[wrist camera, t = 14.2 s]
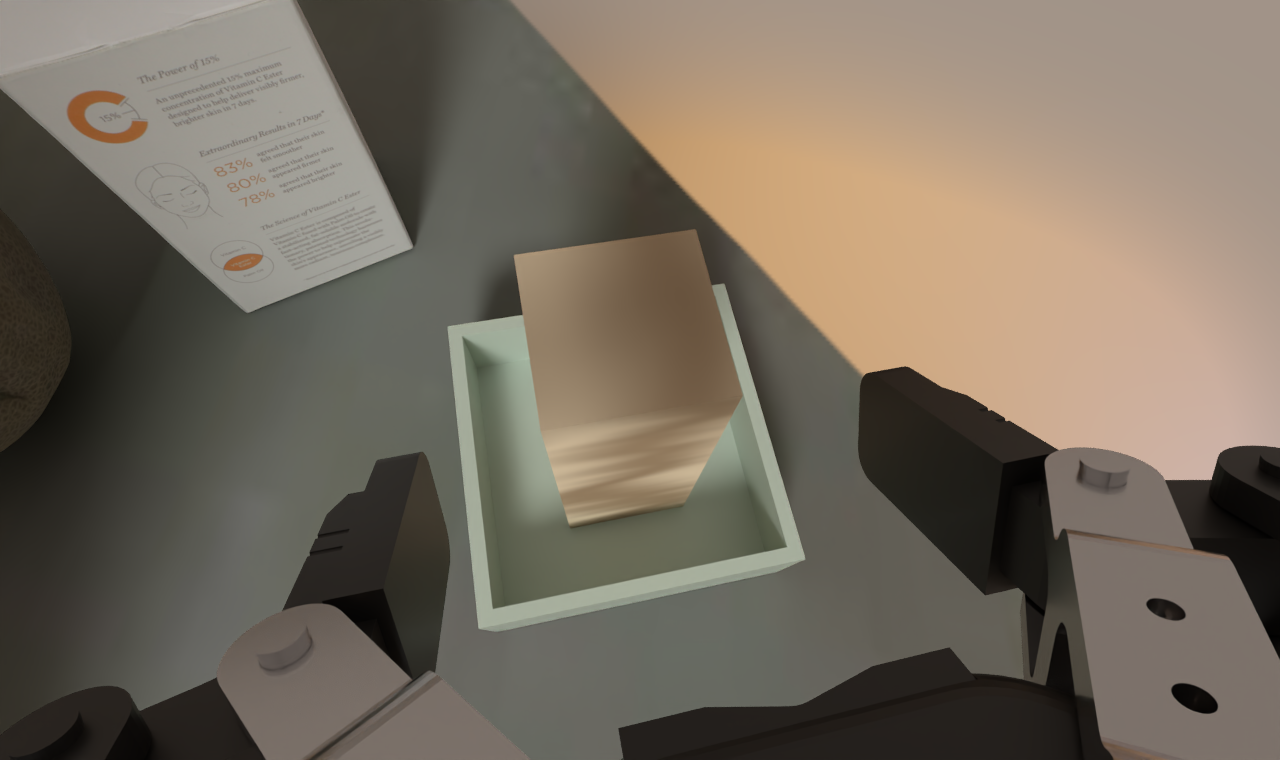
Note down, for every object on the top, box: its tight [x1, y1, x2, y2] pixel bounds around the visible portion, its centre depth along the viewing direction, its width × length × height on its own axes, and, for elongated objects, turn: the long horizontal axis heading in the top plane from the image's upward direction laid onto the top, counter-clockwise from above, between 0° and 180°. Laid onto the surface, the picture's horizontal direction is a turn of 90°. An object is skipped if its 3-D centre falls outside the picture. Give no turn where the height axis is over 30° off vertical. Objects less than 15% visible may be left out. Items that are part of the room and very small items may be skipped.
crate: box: [448, 284, 805, 632], centre depth 25 cm, size 11×11×4 cm
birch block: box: [514, 229, 743, 528], centre depth 20 cm, size 4×4×12 cm
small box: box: [0, 0, 413, 313], centre depth 25 cm, size 8×6×13 cm
